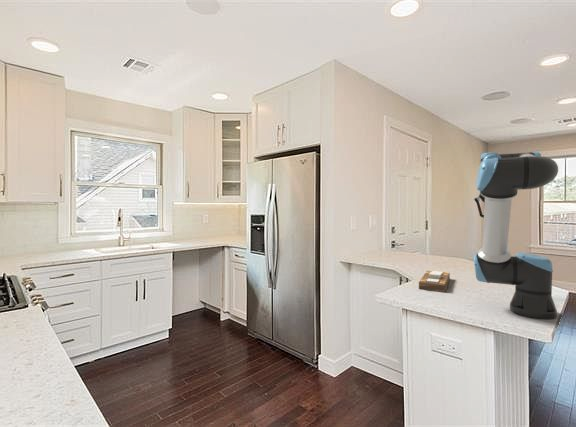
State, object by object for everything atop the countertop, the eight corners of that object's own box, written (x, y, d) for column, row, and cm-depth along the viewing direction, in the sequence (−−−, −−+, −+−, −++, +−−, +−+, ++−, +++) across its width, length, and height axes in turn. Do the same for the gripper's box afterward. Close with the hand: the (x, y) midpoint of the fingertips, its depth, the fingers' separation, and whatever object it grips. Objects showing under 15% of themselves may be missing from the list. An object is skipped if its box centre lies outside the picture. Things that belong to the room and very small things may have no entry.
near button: (438, 287, 162) (438, 281, 162) (426, 285, 165) (426, 280, 165) (439, 284, 167) (439, 279, 167) (427, 283, 169) (427, 278, 169)
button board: (444, 292, 158) (444, 284, 158) (418, 289, 165) (418, 281, 164) (449, 279, 184) (449, 272, 184) (426, 276, 190) (427, 270, 190)
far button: (441, 278, 179) (442, 273, 179) (431, 277, 182) (431, 272, 182) (442, 276, 184) (442, 271, 184) (432, 275, 187) (432, 270, 187)
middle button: (440, 280, 171) (440, 275, 171) (429, 279, 173) (429, 274, 173) (441, 278, 175) (441, 273, 175) (430, 276, 178) (430, 272, 178)
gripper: (504, 184, 161) (503, 231, 162) (474, 184, 168) (473, 230, 169) (505, 183, 155) (504, 232, 156) (473, 184, 161) (473, 231, 162)
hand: (488, 231), depth 162 cm, fingers closed
